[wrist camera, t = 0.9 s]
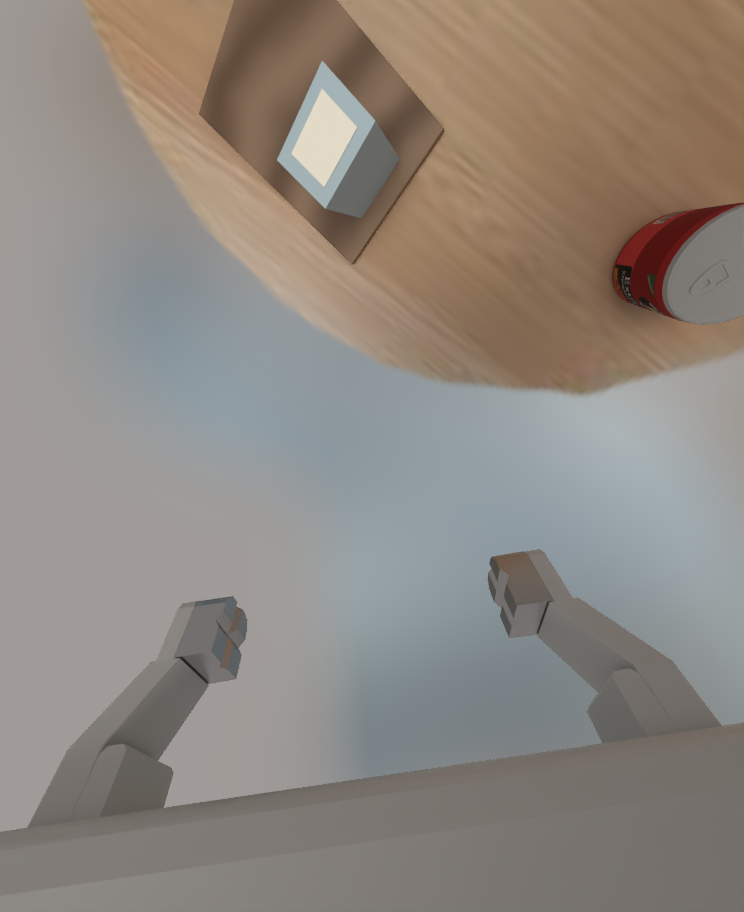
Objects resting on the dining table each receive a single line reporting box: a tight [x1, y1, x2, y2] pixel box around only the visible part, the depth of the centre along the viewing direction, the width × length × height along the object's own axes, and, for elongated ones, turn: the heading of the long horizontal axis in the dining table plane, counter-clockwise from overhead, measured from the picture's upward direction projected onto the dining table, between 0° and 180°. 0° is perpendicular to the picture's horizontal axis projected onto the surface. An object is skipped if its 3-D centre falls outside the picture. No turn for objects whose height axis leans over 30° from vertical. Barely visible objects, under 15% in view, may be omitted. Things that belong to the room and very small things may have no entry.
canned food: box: [613, 203, 744, 325], centre depth 28 cm, size 8×8×11 cm
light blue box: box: [277, 61, 400, 218], centre depth 28 cm, size 4×6×12 cm
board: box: [199, 0, 444, 264], centre depth 32 cm, size 20×14×1 cm
